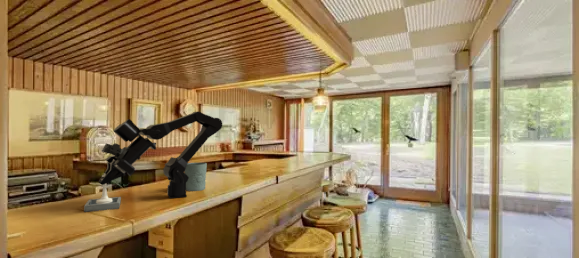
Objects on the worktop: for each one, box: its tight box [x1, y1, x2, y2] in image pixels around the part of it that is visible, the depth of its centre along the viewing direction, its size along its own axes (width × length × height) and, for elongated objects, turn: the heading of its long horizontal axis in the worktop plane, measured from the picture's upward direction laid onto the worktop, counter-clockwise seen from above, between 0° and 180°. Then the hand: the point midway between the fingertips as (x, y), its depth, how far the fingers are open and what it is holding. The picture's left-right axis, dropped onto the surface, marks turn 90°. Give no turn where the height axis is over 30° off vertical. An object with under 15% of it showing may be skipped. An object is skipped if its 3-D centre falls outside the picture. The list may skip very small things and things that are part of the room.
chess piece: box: [96, 172, 113, 204], centre depth 99 cm, size 5×5×10 cm
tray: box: [83, 196, 122, 213], centre depth 99 cm, size 10×10×2 cm
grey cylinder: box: [184, 162, 208, 192], centre depth 132 cm, size 10×10×12 cm
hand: (100, 183), depth 98 cm, fingers closed on chess piece
